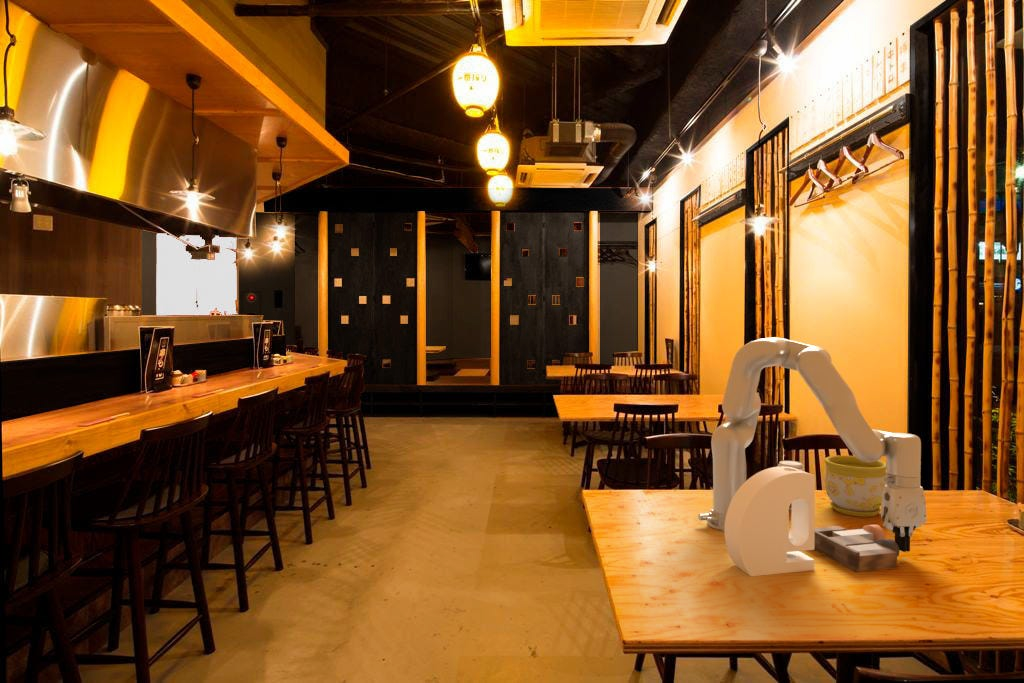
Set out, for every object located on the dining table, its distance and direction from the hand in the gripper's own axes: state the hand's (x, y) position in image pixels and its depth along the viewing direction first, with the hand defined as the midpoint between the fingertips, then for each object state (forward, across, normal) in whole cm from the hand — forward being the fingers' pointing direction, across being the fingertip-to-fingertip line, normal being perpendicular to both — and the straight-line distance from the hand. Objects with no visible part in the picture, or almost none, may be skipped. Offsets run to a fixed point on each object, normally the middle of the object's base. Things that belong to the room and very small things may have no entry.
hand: (902, 549), depth 155 cm
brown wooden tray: (+2, -12, +5) cm, 14 cm away
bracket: (+3, -38, +2) cm, 38 cm away
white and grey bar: (+2, -10, 0) cm, 10 cm away
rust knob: (+2, -5, +10) cm, 11 cm away
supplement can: (+3, -1, +44) cm, 44 cm away
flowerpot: (+3, +17, +36) cm, 40 cm away
